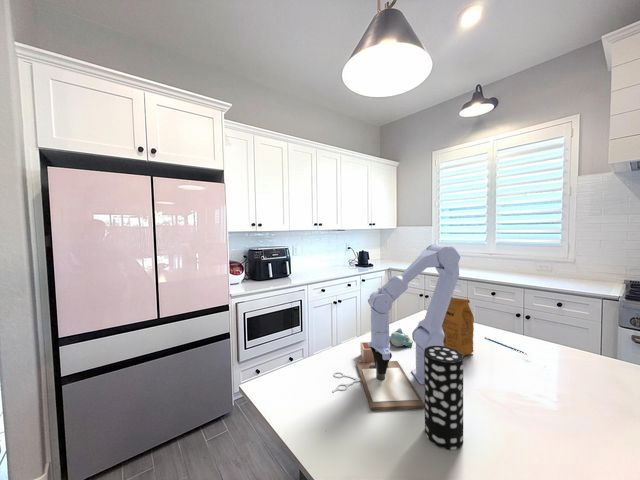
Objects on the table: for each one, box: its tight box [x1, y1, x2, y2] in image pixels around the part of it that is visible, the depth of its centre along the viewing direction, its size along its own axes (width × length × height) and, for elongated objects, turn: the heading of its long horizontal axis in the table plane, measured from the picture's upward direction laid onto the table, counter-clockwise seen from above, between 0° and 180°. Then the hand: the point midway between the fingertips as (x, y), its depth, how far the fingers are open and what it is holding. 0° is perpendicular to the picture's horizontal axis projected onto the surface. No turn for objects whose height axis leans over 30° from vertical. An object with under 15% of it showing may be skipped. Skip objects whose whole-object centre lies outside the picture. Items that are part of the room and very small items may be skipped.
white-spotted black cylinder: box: [423, 346, 464, 451], centre depth 62 cm, size 8×8×20 cm
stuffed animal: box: [389, 327, 414, 348], centre depth 113 cm, size 11×7×12 cm
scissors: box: [331, 371, 362, 393], centre depth 86 cm, size 11×1×20 cm
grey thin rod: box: [484, 336, 527, 355], centre depth 108 cm, size 1×17×1 cm, turn 23°
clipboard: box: [356, 360, 425, 412], centre depth 84 cm, size 15×24×2 cm, turn 1°
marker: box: [376, 350, 385, 380], centre depth 85 cm, size 3×3×9 cm
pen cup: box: [360, 341, 375, 362], centre depth 100 cm, size 6×6×5 cm
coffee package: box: [442, 296, 475, 357], centre depth 105 cm, size 10×12×22 cm
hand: (380, 370), depth 85 cm, fingers closed on marker, 3 cm apart
